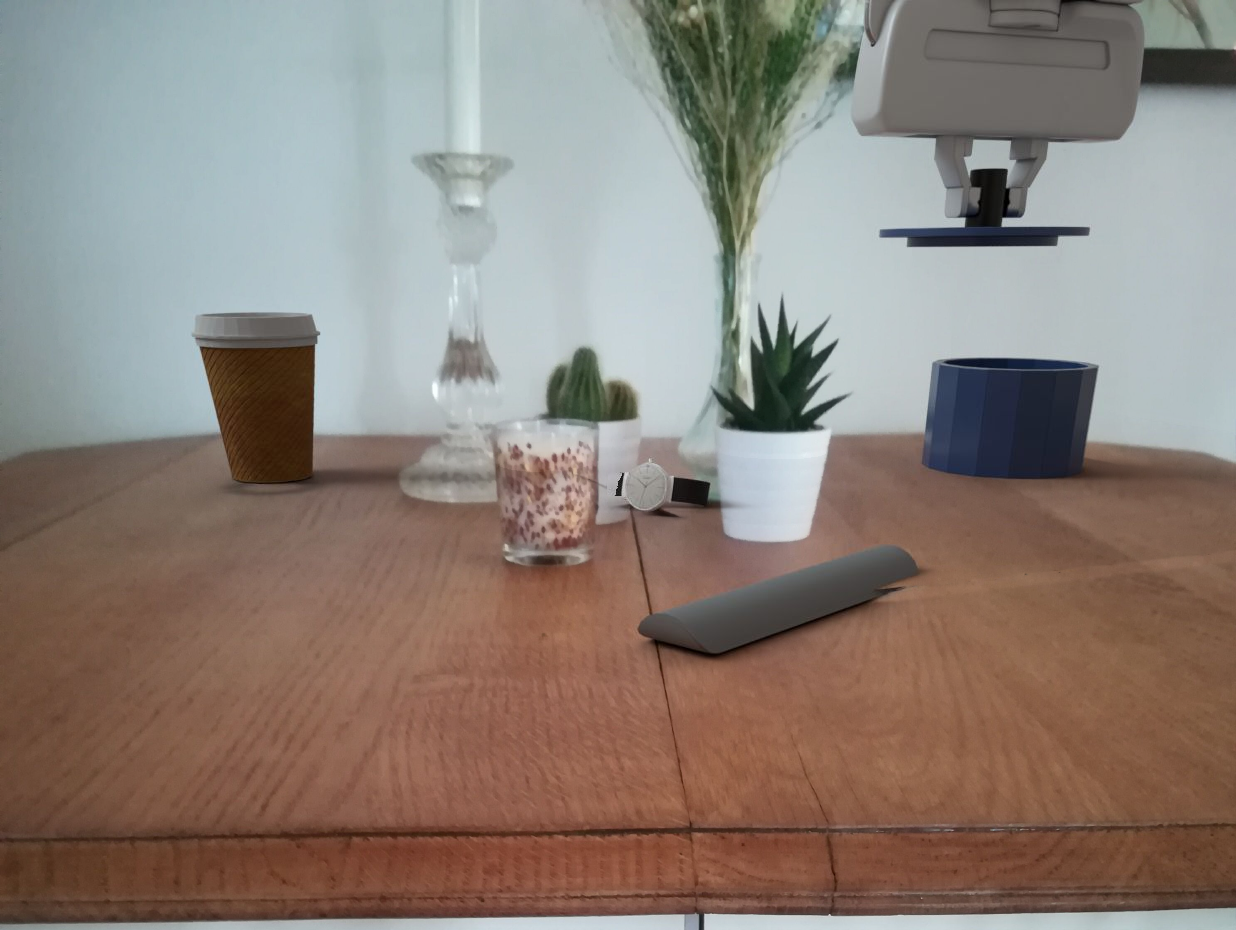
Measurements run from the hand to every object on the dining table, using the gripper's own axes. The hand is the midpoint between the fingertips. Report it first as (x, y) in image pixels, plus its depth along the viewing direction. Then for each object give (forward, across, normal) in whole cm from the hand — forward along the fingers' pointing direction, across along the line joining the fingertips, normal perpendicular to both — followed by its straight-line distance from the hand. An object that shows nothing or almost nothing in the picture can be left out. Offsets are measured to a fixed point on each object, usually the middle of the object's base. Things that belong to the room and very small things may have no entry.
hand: (984, 218), depth 81 cm
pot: (+19, +11, +9) cm, 24 cm away
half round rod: (+19, -27, -22) cm, 39 cm away
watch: (+18, -22, +5) cm, 29 cm away
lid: (+1, 0, 0) cm, 1 cm away
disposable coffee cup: (+18, -44, +29) cm, 56 cm away
